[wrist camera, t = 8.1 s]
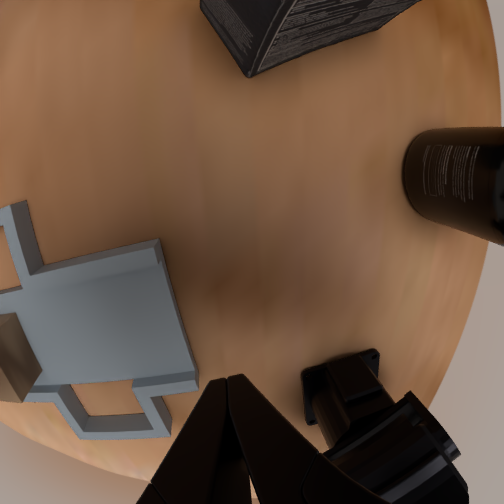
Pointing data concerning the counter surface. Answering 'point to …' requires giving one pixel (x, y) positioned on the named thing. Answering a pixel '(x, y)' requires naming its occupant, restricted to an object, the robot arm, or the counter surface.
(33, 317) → the trap tray
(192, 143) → the counter surface
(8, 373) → the walnut block
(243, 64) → the small box
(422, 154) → the supplement bottle
